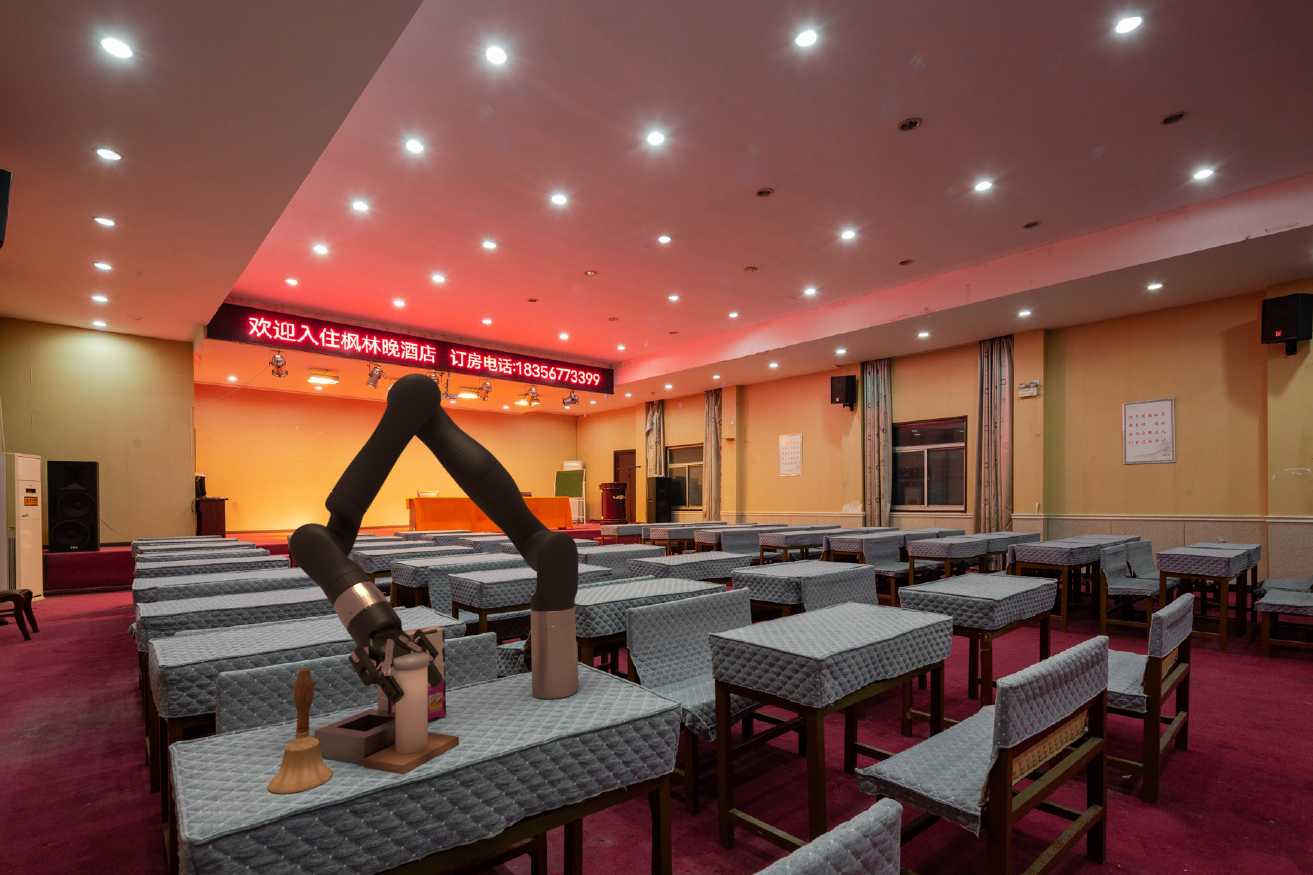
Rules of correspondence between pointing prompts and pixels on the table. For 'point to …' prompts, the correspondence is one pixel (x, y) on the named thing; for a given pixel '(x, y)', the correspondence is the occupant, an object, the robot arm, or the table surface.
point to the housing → (357, 736)
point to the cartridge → (411, 703)
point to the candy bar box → (434, 694)
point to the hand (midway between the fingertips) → (419, 691)
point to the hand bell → (301, 748)
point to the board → (410, 755)
